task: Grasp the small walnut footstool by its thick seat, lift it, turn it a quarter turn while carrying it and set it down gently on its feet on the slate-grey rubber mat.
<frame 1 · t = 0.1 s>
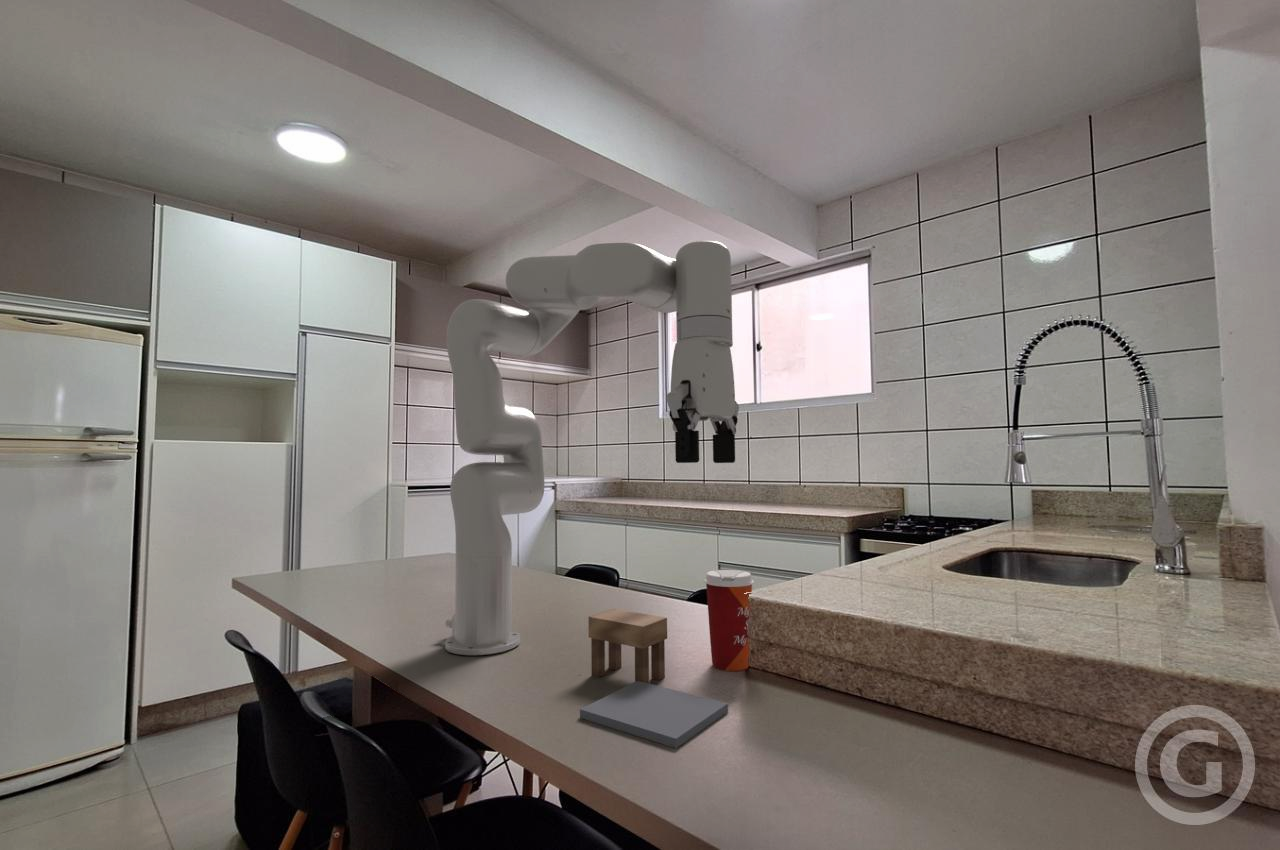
hand: (706, 462, 80), 31 cm above the table, fingers open, 9 cm apart
mat: (654, 714, 74), on the table
paper cup: (730, 666, 93), on the table
footstool: (627, 676, 88), on the table
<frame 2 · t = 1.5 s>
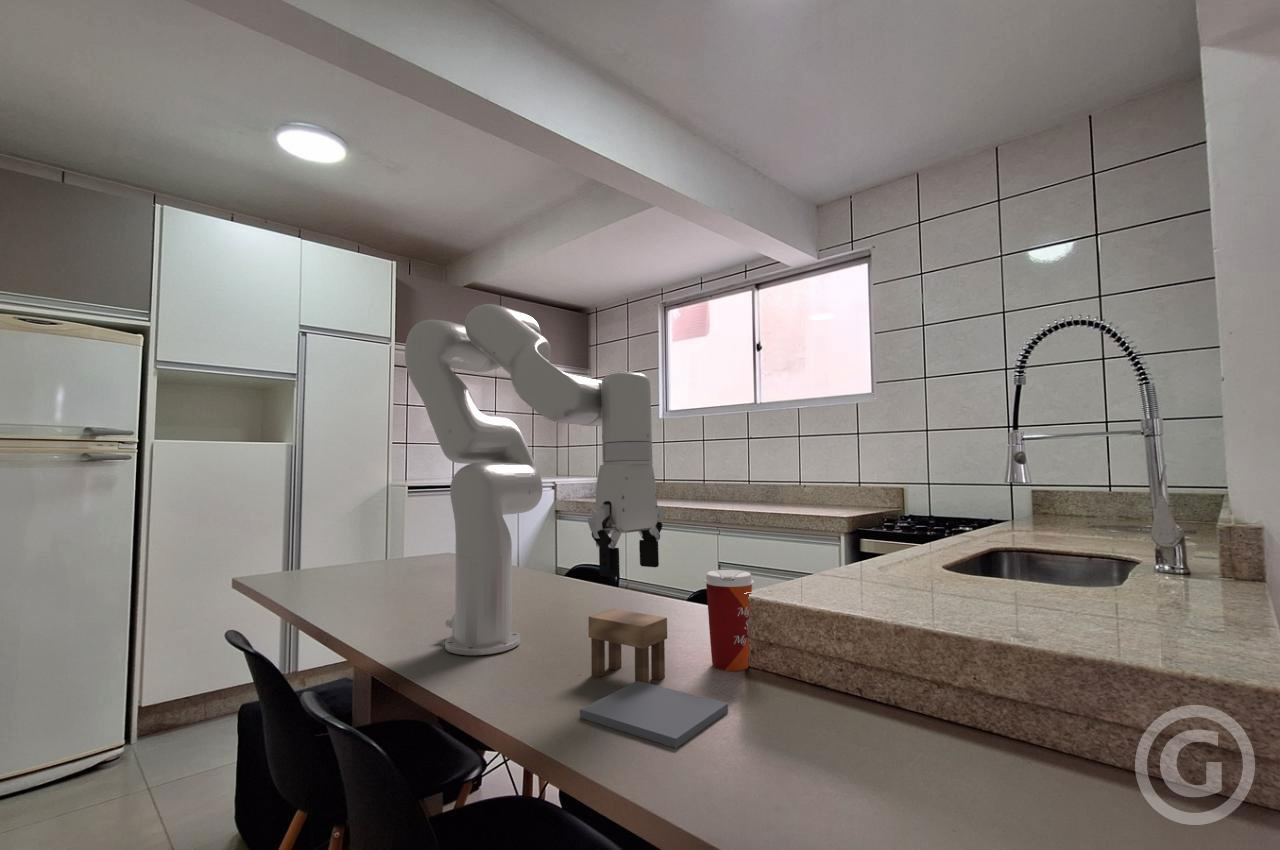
hand: (630, 571, 89), 15 cm above the table, fingers open, 9 cm apart
nothing on the table moved.
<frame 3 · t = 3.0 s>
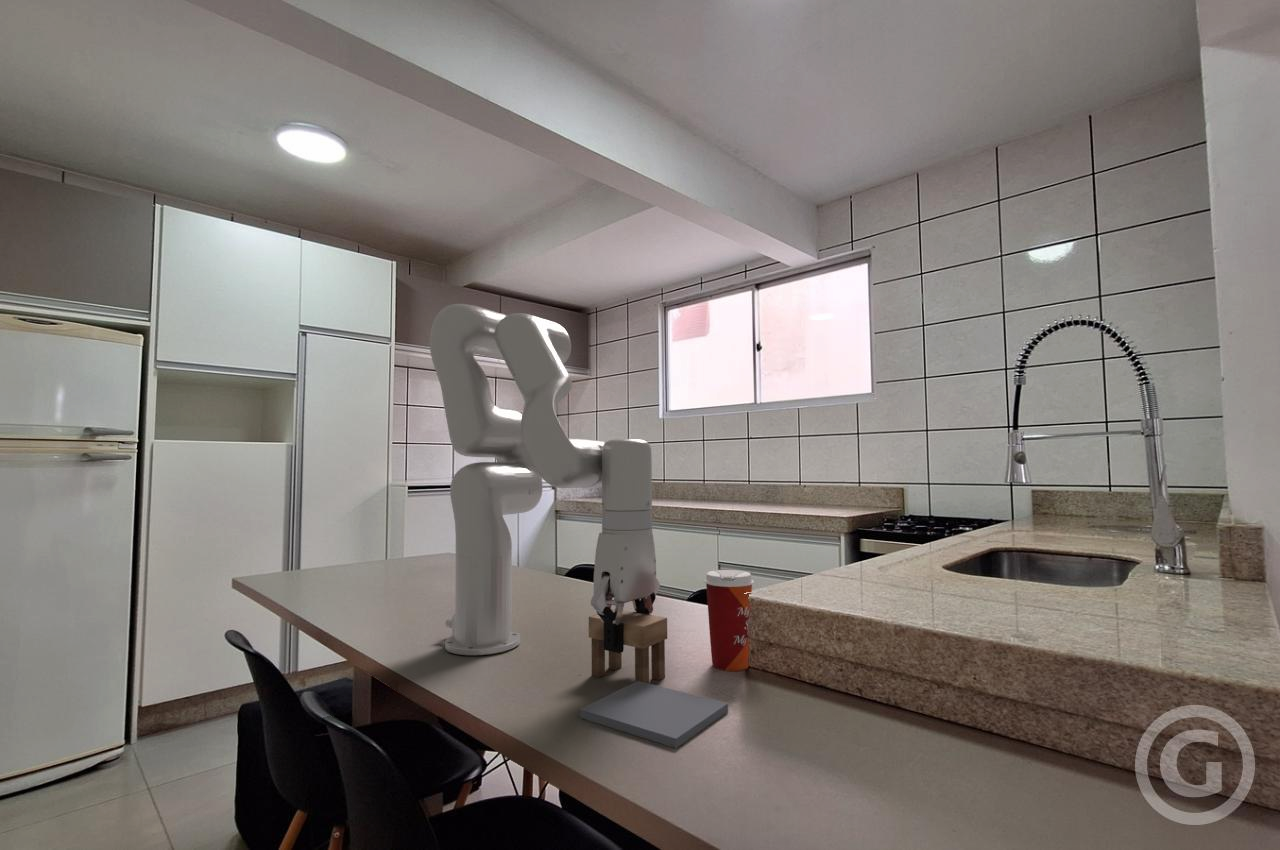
hand: (627, 644, 88), 5 cm above the table, fingers closed on footstool, 6 cm apart
footstool: (628, 676, 88), on the table, touching gripper
everything else where it was.
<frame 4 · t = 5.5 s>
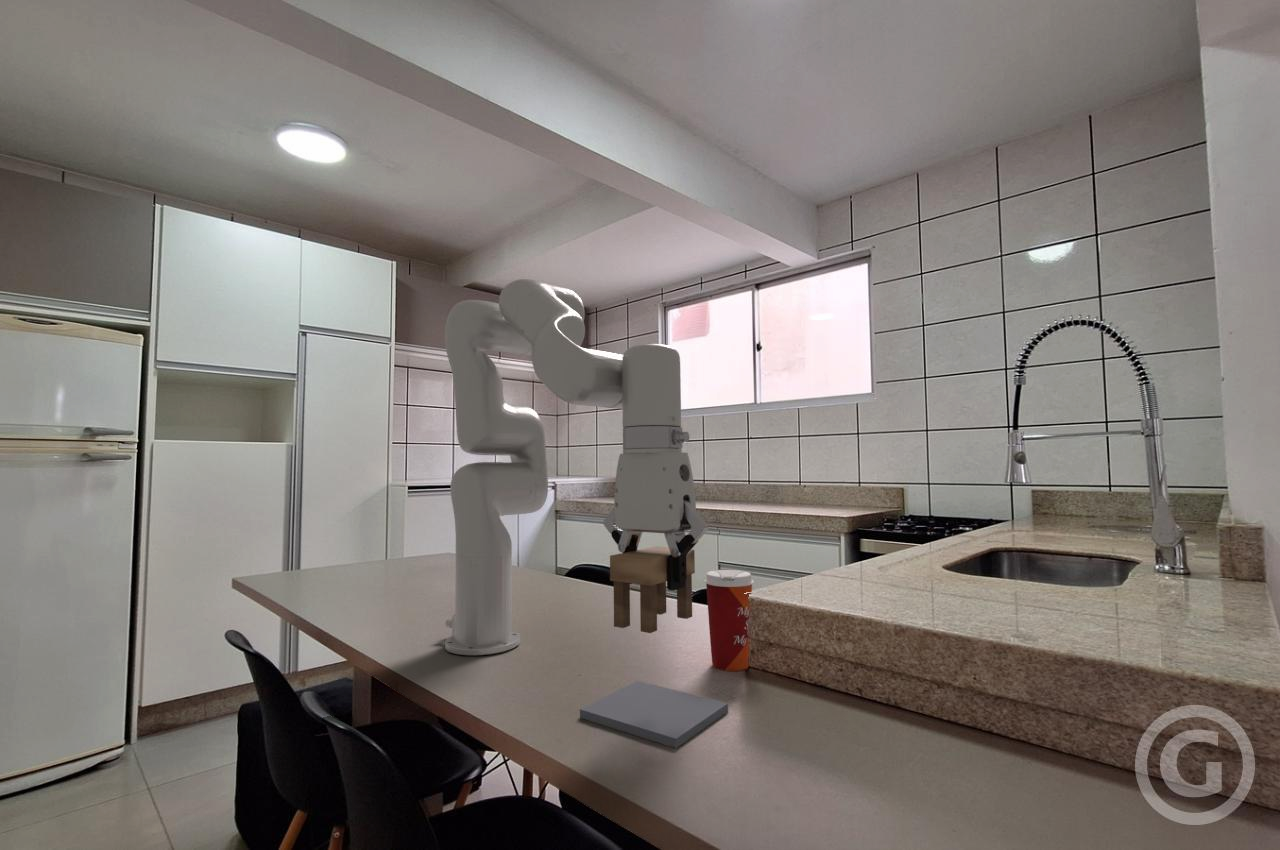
hand: (653, 584, 75), 16 cm above the table, fingers closed on footstool, 6 cm apart
footstool: (654, 621, 75), point 11 cm above the table, touching gripper
everything else where it was.
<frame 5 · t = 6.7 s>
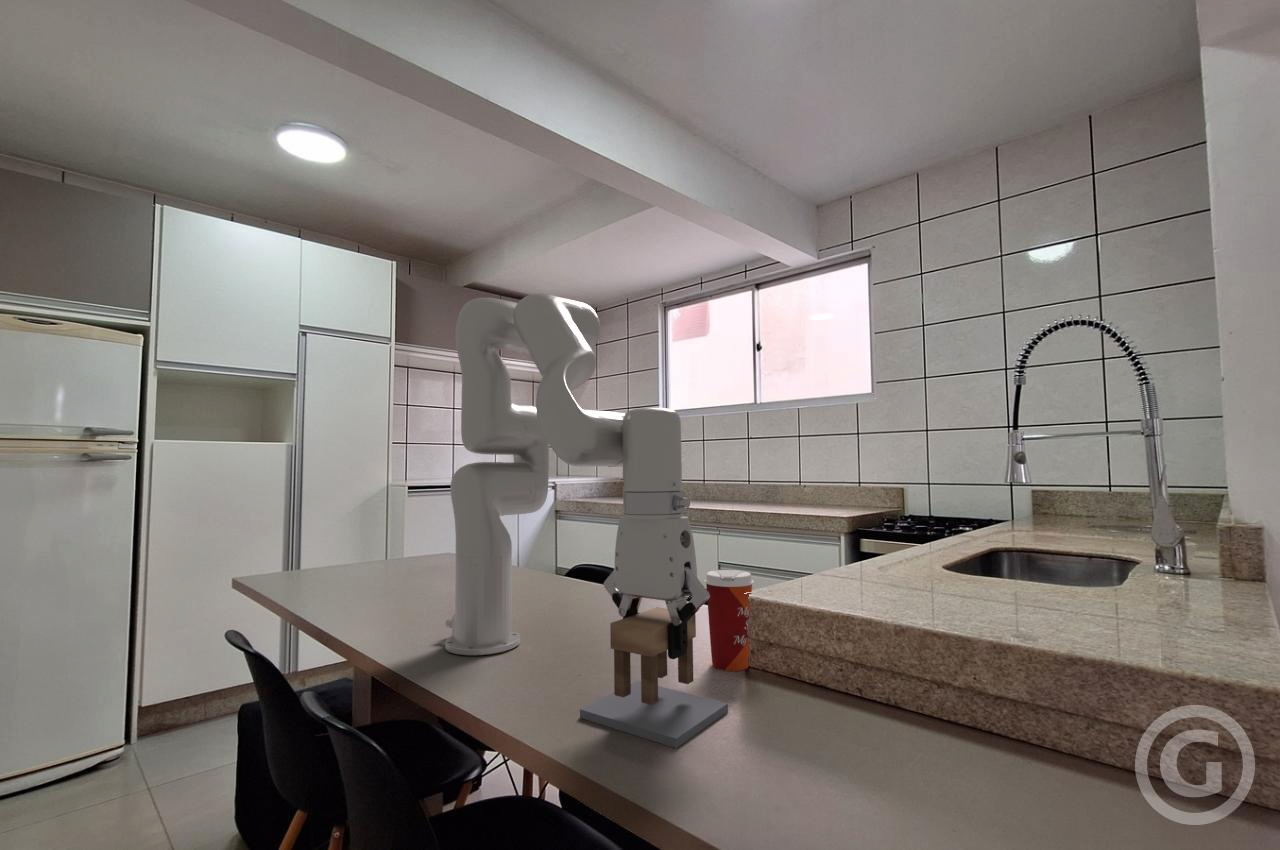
hand: (654, 650, 75), 8 cm above the table, fingers closed on footstool, 6 cm apart
footstool: (655, 687, 74), point 3 cm above the table, touching gripper
everything else where it was.
when the fingers open (6 cm above the table, at t = 8.0 s): footstool stays where it is, resting on mat.
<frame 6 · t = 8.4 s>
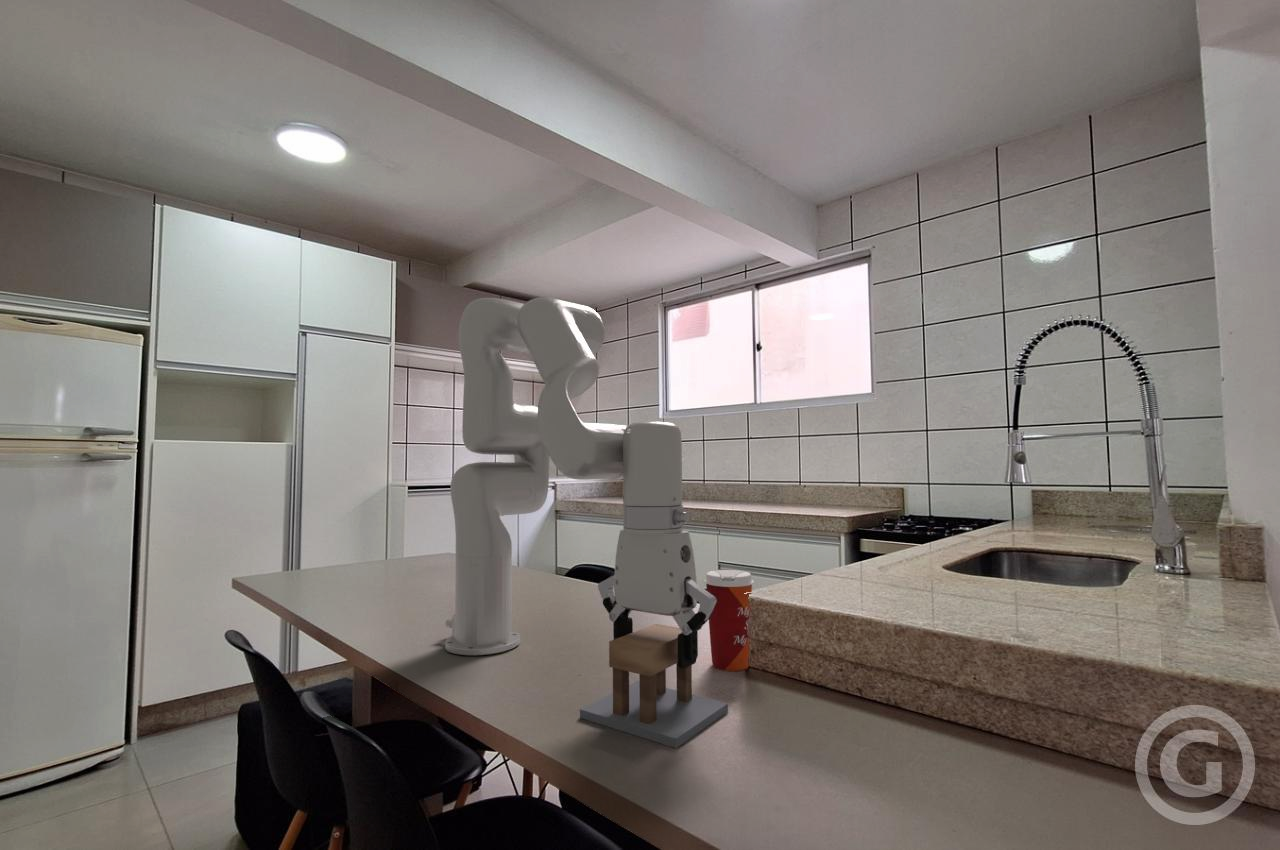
hand: (654, 658, 75), 7 cm above the table, fingers open, 9 cm apart
footstool: (653, 705, 74), point 1 cm above the table, touching mat
everything else where it was.
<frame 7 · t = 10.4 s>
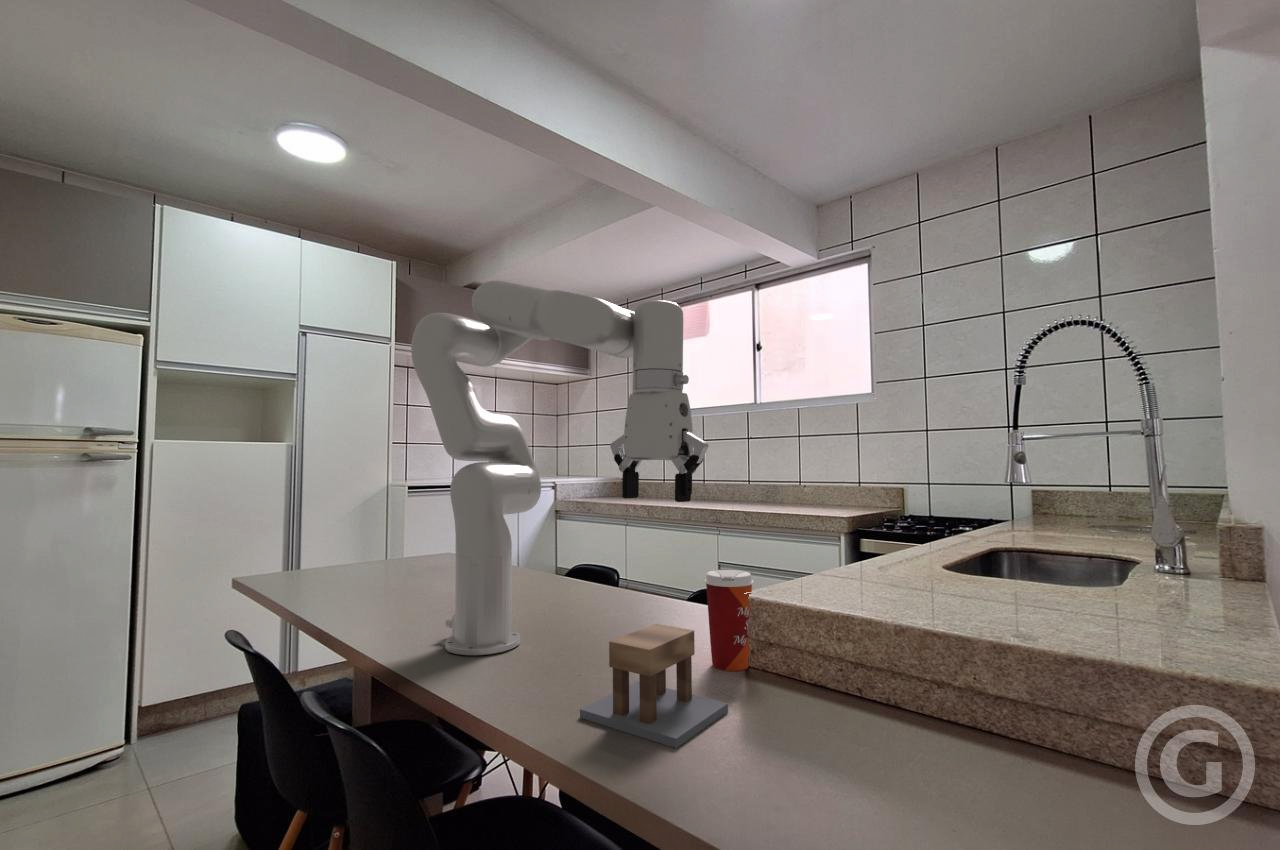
hand: (655, 499, 89), 26 cm above the table, fingers open, 9 cm apart
nothing on the table moved.
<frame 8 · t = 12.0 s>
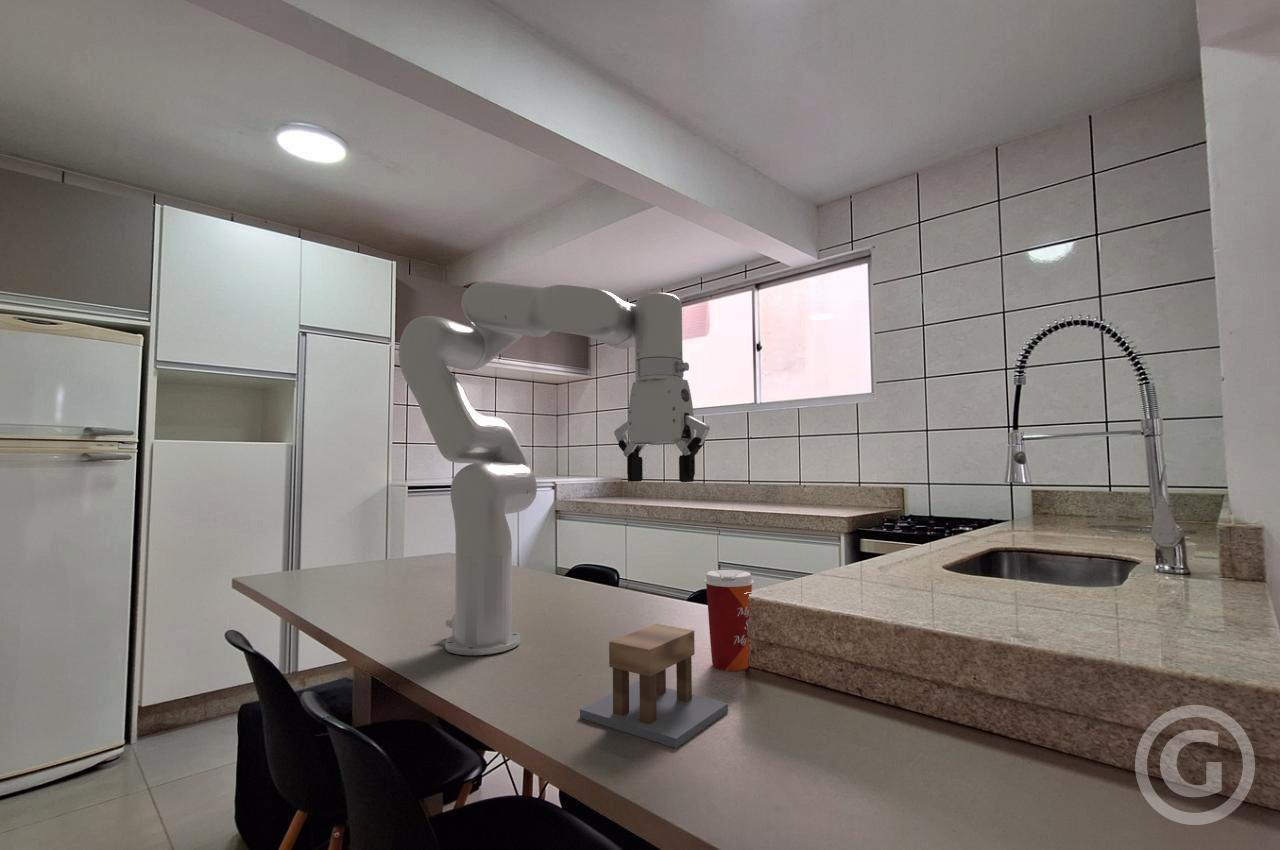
hand: (660, 481, 94), 28 cm above the table, fingers open, 9 cm apart
nothing on the table moved.
at the end: footstool inside the target area on the mat (0.2 cm from its centre), point 1.0 cm above the mat's base; footstool tilted 0°; the gripper is holding nothing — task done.
